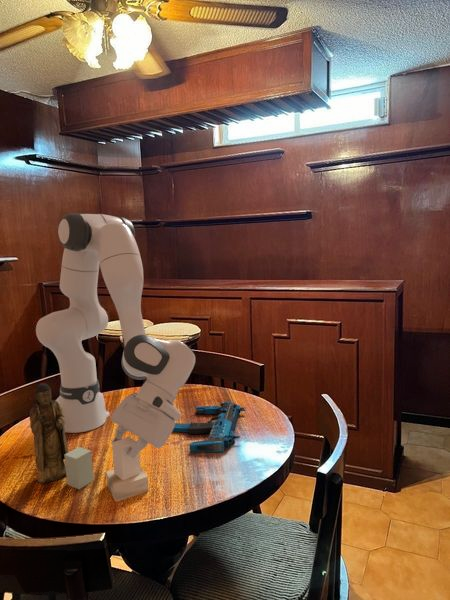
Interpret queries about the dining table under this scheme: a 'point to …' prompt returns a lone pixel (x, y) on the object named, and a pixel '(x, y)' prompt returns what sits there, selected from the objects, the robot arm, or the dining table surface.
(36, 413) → the statue
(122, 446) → the cream pillar
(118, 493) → the birch slab
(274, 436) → the dining table surface
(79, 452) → the sage pillar
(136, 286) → the robot arm
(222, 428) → the submachine gun
